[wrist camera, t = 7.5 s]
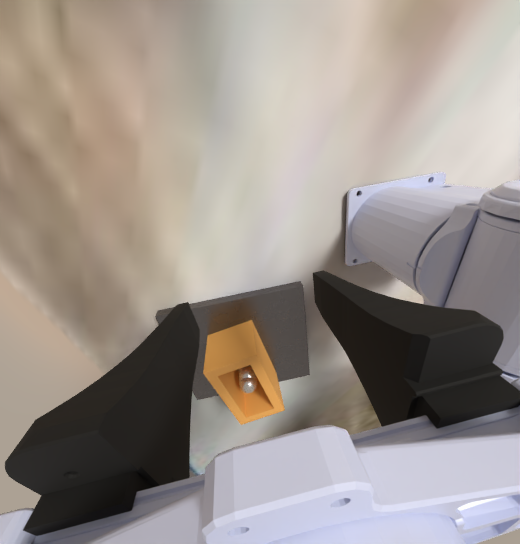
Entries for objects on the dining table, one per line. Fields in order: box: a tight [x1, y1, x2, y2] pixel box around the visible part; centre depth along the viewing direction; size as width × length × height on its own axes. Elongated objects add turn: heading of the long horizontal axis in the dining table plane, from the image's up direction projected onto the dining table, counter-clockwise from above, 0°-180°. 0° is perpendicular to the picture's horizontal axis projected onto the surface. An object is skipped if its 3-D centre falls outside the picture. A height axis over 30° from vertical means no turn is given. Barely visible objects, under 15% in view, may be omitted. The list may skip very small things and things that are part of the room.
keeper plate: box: [155, 282, 310, 400], centre depth 25 cm, size 16×15×6 cm
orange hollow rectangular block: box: [203, 320, 285, 425], centre depth 25 cm, size 5×10×5 cm, turn 19°
